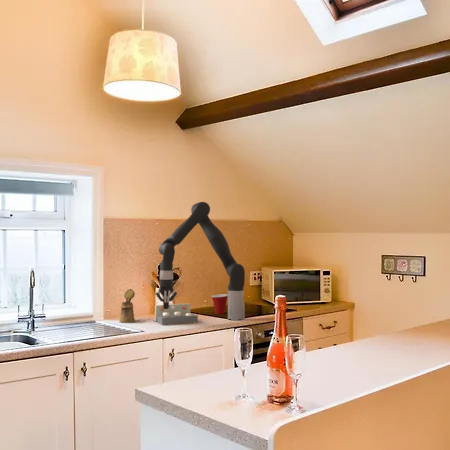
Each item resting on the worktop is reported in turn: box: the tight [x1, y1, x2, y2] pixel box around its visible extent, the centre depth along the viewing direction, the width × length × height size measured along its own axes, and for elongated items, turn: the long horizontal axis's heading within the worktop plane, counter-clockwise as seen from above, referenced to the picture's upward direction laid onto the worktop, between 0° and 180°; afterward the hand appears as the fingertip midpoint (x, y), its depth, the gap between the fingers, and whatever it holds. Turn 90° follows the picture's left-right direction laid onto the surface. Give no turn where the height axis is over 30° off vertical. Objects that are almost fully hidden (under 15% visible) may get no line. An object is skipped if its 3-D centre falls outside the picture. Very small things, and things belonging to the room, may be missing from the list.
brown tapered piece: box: [119, 288, 136, 324], centre depth 329 cm, size 9×14×18 cm, turn 178°
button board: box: [156, 313, 199, 326], centre depth 324 cm, size 22×8×4 cm, turn 116°
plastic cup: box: [211, 293, 228, 315], centre depth 360 cm, size 11×11×12 cm
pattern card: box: [152, 303, 191, 323], centre depth 332 cm, size 22×4×10 cm, turn 116°
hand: (166, 308), depth 321 cm, fingers closed
